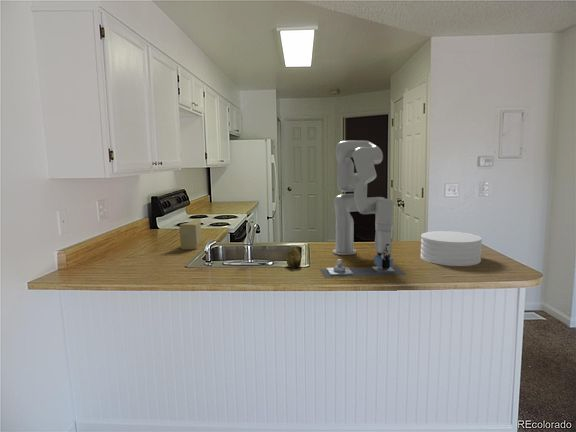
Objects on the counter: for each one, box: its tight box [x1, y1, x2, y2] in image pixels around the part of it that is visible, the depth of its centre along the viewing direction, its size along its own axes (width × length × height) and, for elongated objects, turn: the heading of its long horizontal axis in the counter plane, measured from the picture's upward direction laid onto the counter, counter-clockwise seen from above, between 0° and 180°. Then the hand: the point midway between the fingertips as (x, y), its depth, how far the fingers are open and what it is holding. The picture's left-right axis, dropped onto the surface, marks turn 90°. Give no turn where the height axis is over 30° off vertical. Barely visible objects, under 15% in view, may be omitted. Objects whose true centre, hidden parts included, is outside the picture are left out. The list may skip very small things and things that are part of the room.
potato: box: [285, 247, 302, 269], centre depth 191 cm, size 8×13×8 cm, turn 170°
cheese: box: [179, 218, 203, 250], centre depth 239 cm, size 22×10×15 cm, turn 174°
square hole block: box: [373, 255, 394, 267], centre depth 179 cm, size 6×6×4 cm
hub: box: [326, 258, 353, 276], centre depth 178 cm, size 10×10×6 cm
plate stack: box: [420, 230, 483, 267], centre depth 199 cm, size 28×28×12 cm
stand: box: [371, 253, 395, 273], centre depth 179 cm, size 8×8×8 cm
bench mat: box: [319, 265, 408, 279], centre depth 178 cm, size 13×36×1 cm, turn 95°
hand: (383, 265), depth 179 cm, fingers closed on square hole block, 6 cm apart
